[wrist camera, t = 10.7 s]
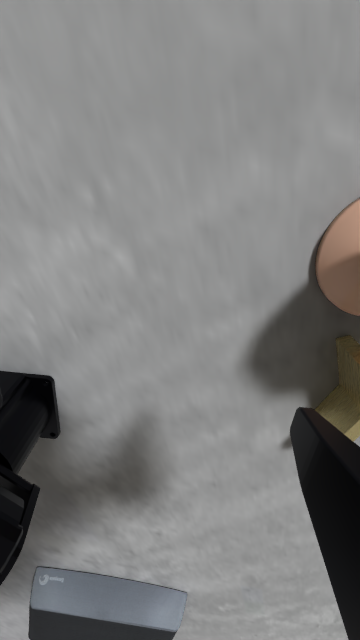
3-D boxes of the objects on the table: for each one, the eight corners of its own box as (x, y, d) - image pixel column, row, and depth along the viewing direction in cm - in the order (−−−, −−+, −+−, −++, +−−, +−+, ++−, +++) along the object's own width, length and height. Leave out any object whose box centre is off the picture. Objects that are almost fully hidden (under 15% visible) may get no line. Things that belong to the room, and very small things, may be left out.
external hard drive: (38, 558, 36) (21, 601, 32) (189, 585, 38) (189, 629, 34) (35, 606, 42) (19, 647, 38) (166, 627, 43) (164, 669, 39)
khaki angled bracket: (335, 425, 25) (356, 461, 21) (305, 422, 25) (321, 457, 21) (373, 337, 21) (405, 365, 18) (337, 333, 21) (362, 361, 18)
